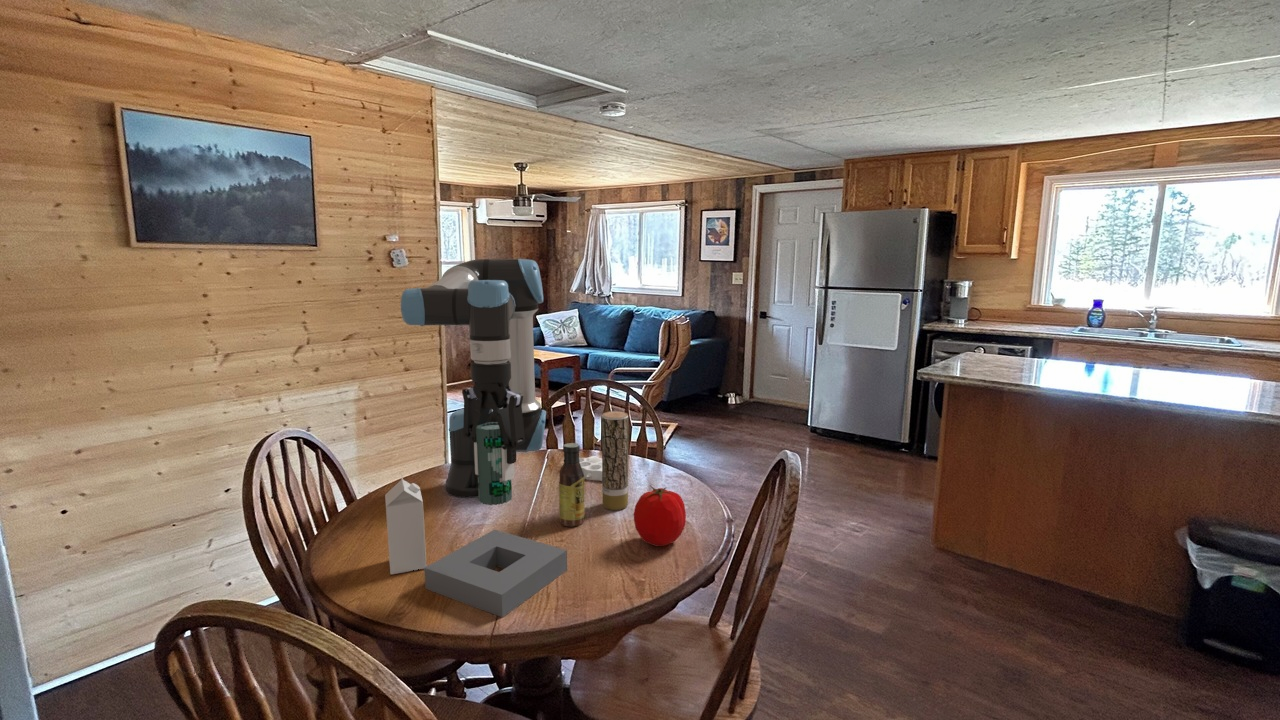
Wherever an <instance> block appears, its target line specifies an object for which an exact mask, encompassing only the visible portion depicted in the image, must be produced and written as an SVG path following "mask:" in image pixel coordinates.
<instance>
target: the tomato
mask: <svg viewBox="0 0 1280 720" xmlns="http://www.w3.org/2000/svg"><path fill="white" fill-rule="evenodd" d="M667 487H668V486H665V487H664V488H663V487H659V488H655V487H653V486H652V485H650V488H651V489H652V490H651V491H646V492H644V493H643V494H642V495H640V497H639V499H638V500H637V502H636V504H635V505H634V510H633V522H634V523H633V524H634V526H635V530H636V532H637V533H638V535H639V537H640V538H641V539H642V540H643V541H644V542H646V543H648V544H650V545H653V546H655V547H661V546H667V545H670V544H672V543H674V542H675V541H676V540H677V539H678V538H680V536H681V535H682V534H683V532H684V530H685V527H686V523H687V522H686V519H687V514H686V513H687V512H686V506H685V502H684V501H683V499H682V497H681V496H680V495H679V493H677V492H675V491H672V490H668V489H667Z"/></svg>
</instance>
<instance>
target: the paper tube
mask: <svg viewBox="0 0 1280 720" xmlns="http://www.w3.org/2000/svg"><path fill="white" fill-rule="evenodd" d="M601 415H602V416H601V446H602V447H601V458H602V481H601V482H602V485H601V487H602V490H601V491H602V506H603V508H605V509H606V510H610V511H620V510H624V509H625V508H627V507H628V505H629V414H628V413H626V412H623V411H617V410H616V411H606V412H603V413H602V414H601Z"/></svg>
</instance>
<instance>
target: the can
mask: <svg viewBox="0 0 1280 720" xmlns="http://www.w3.org/2000/svg"><path fill="white" fill-rule="evenodd" d="M476 438H477V464H478V489H479V496H478V501H479V503H480V504H482V505H486V506H487V505H488V506H493V505H494V506H497V505H503V504H504V503H505V504H507V503H508V502H510V501H511V500H512V499H513V494H512V493H513V491H512V487H513V486H512V478H511V479H509V480H507V481H502V453H501V448H502V447H504V446H505V445H504V442H503V438H502V435H501V431H500V428H499V424H498V422H489V423H485V424H481V425H478V426H477V427H476Z"/></svg>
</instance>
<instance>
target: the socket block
mask: <svg viewBox="0 0 1280 720" xmlns="http://www.w3.org/2000/svg"><path fill="white" fill-rule="evenodd" d="M496 567H499V568H502V570H500V571H497V570H494V569H495V568H496ZM423 571H424V586H425V588H426V589H425V590H427V589H428V591H430V590H431V592H433V593H435V592H436V594H438V595H441V596H443V595H444V597H447V598H449V599H452V600H454V601H458V602H460V603H462V604H465V605H467V606H470V607H473V608H476V609H478V610H481V611H483V612H486V613H490V614H492V615H495V616H497V617H500V618H504V617H505V616H507V615H508V614H509V613H511V612H512V611H513V610H515V609H516V608H518V607H519V606H521V605H522V604H523V603H525V602H526V601H527V600H529V599H530V598H531V597H533V596H534V595H535V594H537V593H538V592H539V591H542V589H544V588H545V587H547V585H549V584H551V583H552V582H554V580H556V579H557V578H559V577H560V576H561V575H563V574H564V573H565V572H567V571H568V550H567V549H564V548H560V547H557V546H555V545H550V544H548V543H547V544H546V543H544V542H540V541H536V540H533V539H531V538H530V539H529V538H525V537H521V536H519V535H516V534H512V533H508V532H505V531H502V530H498V529H493V530H491V531H489V532H488V533H485V534H484V535H482V536H480V537H478V538H476V539H474V540H473V541H470V542H468V543H467V544H465V545H464V546H461V547H460V548H458V549H456V550H454V551H452V552H450V553H449V554H446V555H445V556H443V557H442V558H439V559H438V560H436V561H434V562H432V563H430V564H429V565H426V567H425V568H424V569H423Z"/></svg>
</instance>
